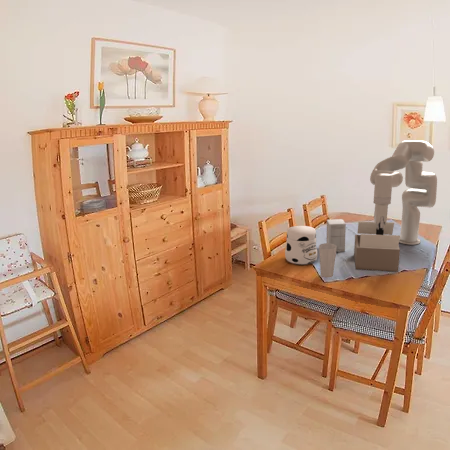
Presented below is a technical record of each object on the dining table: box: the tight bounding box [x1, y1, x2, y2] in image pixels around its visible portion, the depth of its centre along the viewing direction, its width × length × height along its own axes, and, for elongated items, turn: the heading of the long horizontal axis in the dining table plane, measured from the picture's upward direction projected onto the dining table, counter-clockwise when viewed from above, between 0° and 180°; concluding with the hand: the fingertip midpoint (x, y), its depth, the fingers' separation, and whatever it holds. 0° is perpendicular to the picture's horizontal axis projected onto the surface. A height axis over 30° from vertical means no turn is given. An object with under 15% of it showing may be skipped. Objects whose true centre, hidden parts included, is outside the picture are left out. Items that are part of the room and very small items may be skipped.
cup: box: [318, 242, 337, 279], centre depth 191 cm, size 8×8×16 cm
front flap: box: [360, 234, 400, 249], centre depth 188 cm, size 8×18×1 cm
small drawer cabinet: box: [326, 218, 347, 253], centre depth 224 cm, size 10×9×17 cm
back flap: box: [356, 221, 395, 235], centre depth 207 cm, size 8×18×1 cm
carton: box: [353, 234, 401, 273], centre depth 203 cm, size 20×20×12 cm
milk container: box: [284, 225, 319, 266], centre depth 209 cm, size 17×17×18 cm
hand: (379, 236), depth 188 cm, fingers closed
